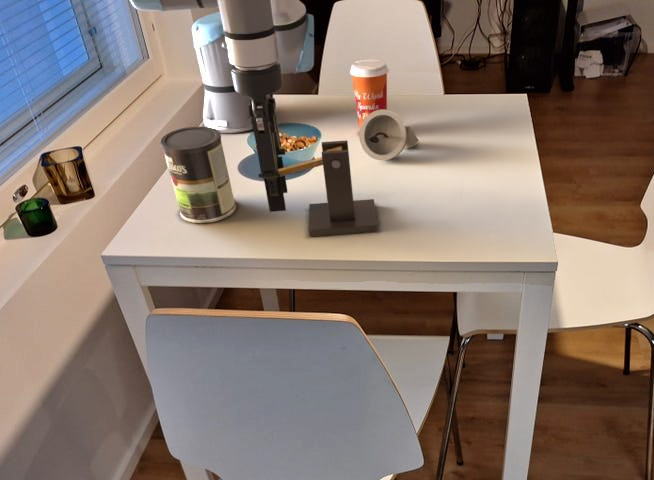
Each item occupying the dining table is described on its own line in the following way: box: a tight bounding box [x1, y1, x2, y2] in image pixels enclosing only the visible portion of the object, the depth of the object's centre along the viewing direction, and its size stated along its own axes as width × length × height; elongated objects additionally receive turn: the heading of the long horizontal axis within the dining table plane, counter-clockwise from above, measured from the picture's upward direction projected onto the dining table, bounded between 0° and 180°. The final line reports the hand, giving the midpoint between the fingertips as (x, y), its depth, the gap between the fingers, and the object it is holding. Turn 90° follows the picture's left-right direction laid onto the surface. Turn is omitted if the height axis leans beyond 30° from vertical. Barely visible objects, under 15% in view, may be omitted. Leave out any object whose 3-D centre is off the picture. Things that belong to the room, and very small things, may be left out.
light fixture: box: [359, 109, 419, 161], centre depth 140 cm, size 11×16×10 cm, turn 164°
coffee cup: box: [349, 58, 390, 129], centre depth 147 cm, size 8×8×15 cm
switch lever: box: [277, 146, 343, 177], centre depth 114 cm, size 13×6×2 cm, turn 96°
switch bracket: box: [308, 139, 378, 238], centre depth 117 cm, size 12×10×14 cm
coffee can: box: [159, 126, 237, 224], centre depth 121 cm, size 10×10×14 cm
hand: (278, 200), depth 118 cm, fingers closed on switch lever, 6 cm apart
